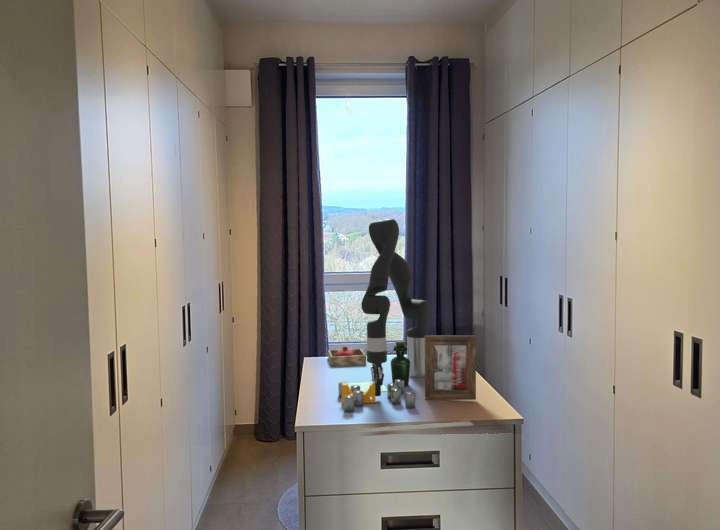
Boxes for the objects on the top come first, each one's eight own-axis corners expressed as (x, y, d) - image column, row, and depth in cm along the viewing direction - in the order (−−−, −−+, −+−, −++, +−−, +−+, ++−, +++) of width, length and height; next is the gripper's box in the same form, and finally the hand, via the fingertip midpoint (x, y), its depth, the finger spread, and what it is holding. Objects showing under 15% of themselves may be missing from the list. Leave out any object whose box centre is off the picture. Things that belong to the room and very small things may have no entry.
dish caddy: (361, 358, 259) (361, 348, 259) (366, 365, 244) (366, 355, 243) (328, 360, 256) (328, 350, 256) (331, 367, 241) (331, 357, 241)
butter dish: (330, 366, 245) (330, 348, 245) (336, 360, 256) (336, 343, 256) (354, 367, 243) (354, 349, 242) (359, 361, 254) (358, 344, 254)
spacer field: (403, 391, 202) (402, 378, 202) (416, 408, 181) (416, 394, 181) (338, 395, 198) (337, 382, 198) (344, 412, 178) (344, 398, 177)
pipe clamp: (341, 403, 187) (341, 386, 186) (343, 399, 191) (342, 382, 190) (374, 404, 186) (374, 387, 185) (375, 400, 190) (375, 383, 190)
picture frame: (425, 399, 191) (424, 336, 190) (425, 398, 193) (424, 335, 192) (475, 399, 190) (475, 336, 189) (475, 398, 192) (475, 335, 191)
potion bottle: (393, 381, 216) (393, 339, 215) (412, 383, 213) (412, 340, 213) (388, 386, 209) (387, 342, 208) (407, 388, 206) (407, 343, 205)
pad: (381, 381, 216) (381, 381, 216) (387, 391, 202) (387, 390, 202) (343, 383, 214) (343, 383, 213) (347, 393, 200) (347, 393, 200)
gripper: (390, 351, 185) (391, 399, 185) (382, 345, 198) (383, 390, 198) (370, 352, 184) (371, 401, 184) (363, 346, 197) (364, 391, 197)
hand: (377, 395), depth 191 cm, fingers closed
